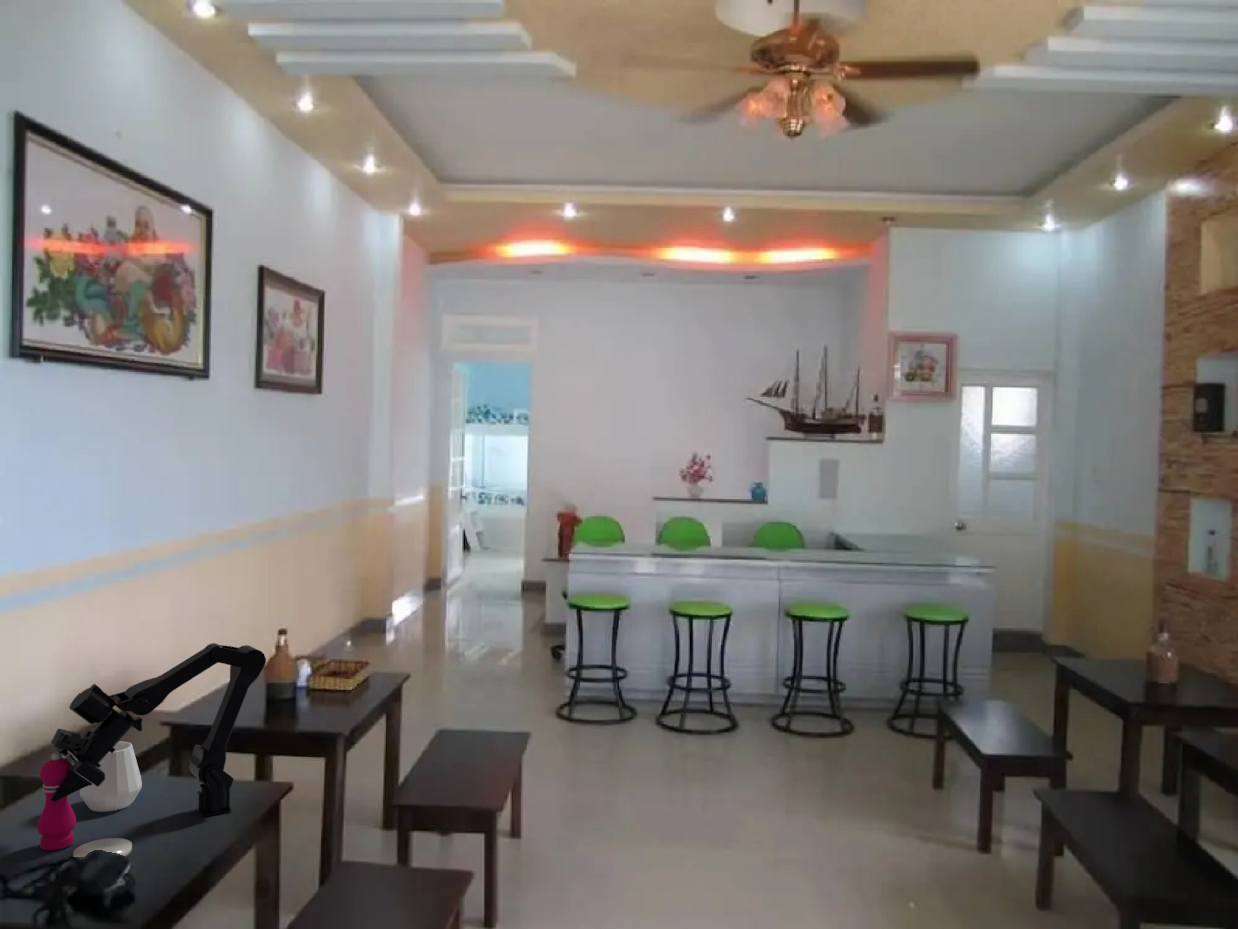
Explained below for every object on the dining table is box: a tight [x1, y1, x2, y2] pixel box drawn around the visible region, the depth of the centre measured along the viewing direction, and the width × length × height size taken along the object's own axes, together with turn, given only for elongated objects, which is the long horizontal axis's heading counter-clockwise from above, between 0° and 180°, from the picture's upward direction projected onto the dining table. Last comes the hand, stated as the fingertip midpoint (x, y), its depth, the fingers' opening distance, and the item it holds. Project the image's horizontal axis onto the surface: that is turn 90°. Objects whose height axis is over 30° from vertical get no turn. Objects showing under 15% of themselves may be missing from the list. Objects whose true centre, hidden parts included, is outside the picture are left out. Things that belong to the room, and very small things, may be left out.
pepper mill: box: [37, 751, 77, 851], centre depth 209 cm, size 7×7×20 cm
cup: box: [79, 740, 143, 813], centre depth 233 cm, size 13×13×14 cm
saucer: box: [72, 837, 133, 858], centre depth 206 cm, size 11×11×1 cm
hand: (49, 796), depth 208 cm, fingers closed on pepper mill, 5 cm apart
